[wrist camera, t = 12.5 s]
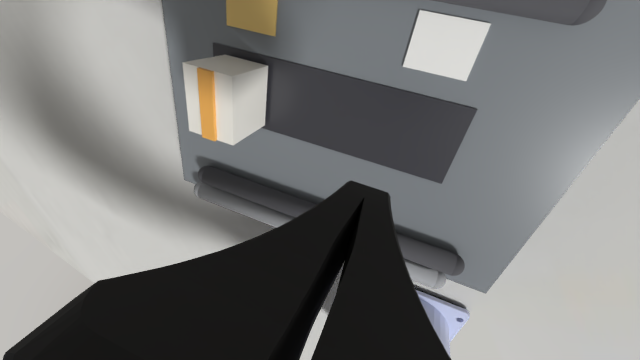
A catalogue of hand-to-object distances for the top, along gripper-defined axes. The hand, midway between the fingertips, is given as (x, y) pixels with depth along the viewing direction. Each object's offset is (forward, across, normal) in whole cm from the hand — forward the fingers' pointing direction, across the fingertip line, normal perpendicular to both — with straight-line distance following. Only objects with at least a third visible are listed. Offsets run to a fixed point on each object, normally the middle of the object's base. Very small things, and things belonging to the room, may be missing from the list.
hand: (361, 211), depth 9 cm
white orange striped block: (+7, +9, 0) cm, 12 cm away
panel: (+10, +3, 0) cm, 10 cm away
